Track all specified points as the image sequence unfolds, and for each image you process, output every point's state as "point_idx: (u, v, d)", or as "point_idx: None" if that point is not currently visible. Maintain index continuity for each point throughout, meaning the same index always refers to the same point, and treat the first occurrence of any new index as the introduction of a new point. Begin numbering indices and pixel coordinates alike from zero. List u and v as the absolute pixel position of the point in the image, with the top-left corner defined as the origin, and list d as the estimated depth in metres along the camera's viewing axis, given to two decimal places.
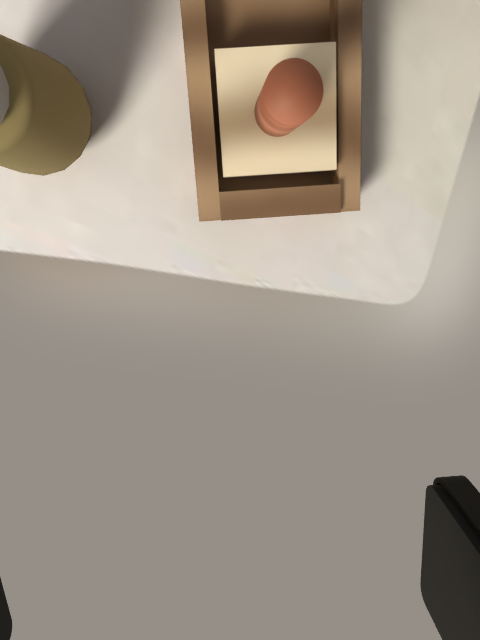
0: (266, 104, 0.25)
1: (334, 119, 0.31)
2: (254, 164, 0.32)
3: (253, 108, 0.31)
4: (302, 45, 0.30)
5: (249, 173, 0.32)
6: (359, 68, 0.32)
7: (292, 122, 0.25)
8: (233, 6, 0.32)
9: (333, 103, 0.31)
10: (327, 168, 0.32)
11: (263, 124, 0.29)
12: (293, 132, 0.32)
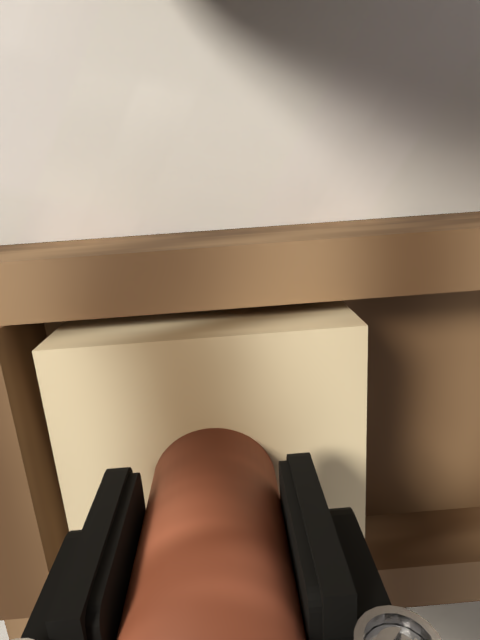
0: None
1: None
2: (77, 432, 0.11)
3: (220, 425, 0.12)
4: (361, 525, 0.13)
5: (51, 420, 0.11)
6: None
7: None
8: (440, 333, 0.15)
9: None
10: None
11: (159, 504, 0.09)
12: None
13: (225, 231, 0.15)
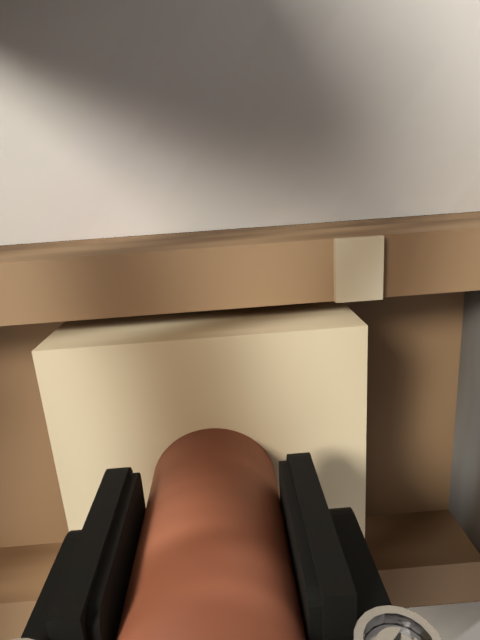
0: None
1: None
2: (77, 432, 0.11)
3: (220, 426, 0.12)
4: (361, 526, 0.13)
5: (50, 420, 0.11)
6: None
7: None
8: None
9: None
10: None
11: (159, 504, 0.09)
12: None
13: None
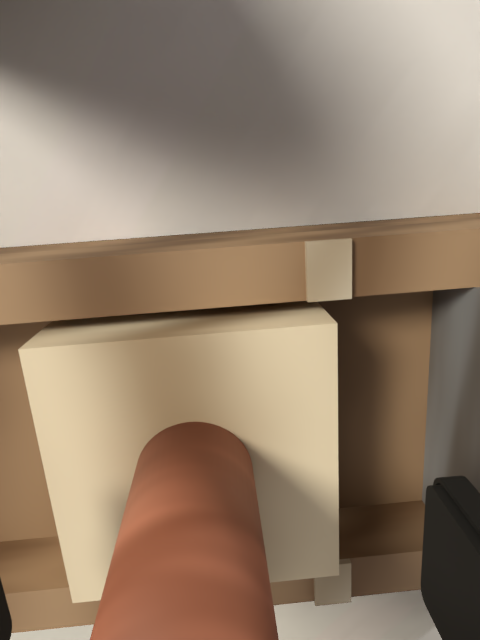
0: None
1: None
2: (63, 427, 0.12)
3: (199, 419, 0.12)
4: (335, 514, 0.13)
5: (37, 416, 0.12)
6: (60, 625, 0.15)
7: None
8: None
9: None
10: (72, 585, 0.13)
11: (139, 492, 0.10)
12: None
13: None
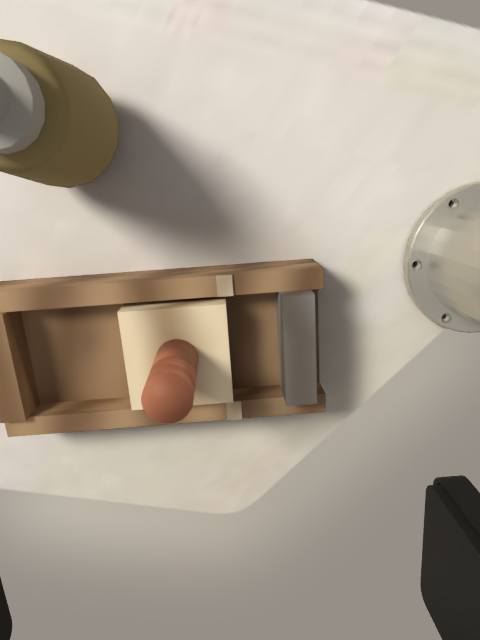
0: (155, 378, 0.28)
1: None
2: (130, 340, 0.34)
3: (178, 338, 0.34)
4: (230, 376, 0.36)
5: (122, 335, 0.34)
6: (125, 426, 0.37)
7: (142, 400, 0.28)
8: None
9: None
10: (132, 402, 0.36)
11: (158, 355, 0.32)
12: None
13: (93, 276, 0.38)
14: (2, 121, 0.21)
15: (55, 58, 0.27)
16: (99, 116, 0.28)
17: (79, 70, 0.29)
